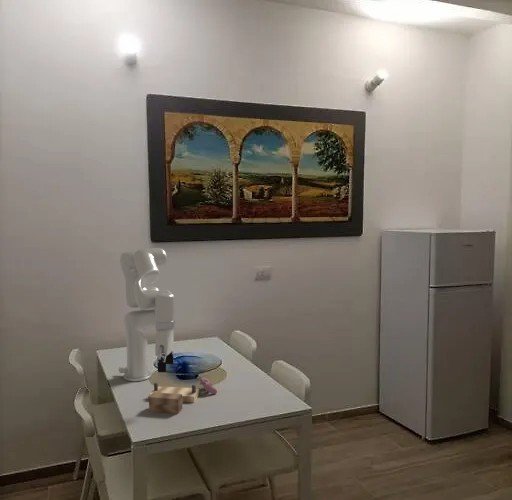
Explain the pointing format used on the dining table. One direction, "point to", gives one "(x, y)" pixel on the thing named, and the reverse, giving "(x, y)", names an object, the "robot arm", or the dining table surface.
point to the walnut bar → (165, 402)
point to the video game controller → (207, 386)
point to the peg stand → (179, 392)
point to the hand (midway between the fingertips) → (165, 367)
